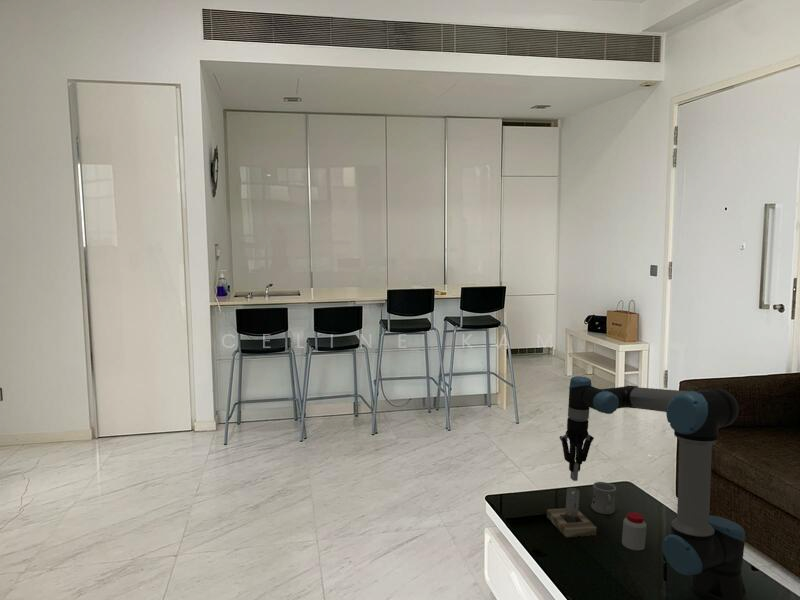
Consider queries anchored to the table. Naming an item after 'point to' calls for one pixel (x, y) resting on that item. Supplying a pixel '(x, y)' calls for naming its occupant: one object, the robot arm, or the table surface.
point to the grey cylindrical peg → (572, 505)
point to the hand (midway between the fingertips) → (573, 479)
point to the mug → (603, 498)
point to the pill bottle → (634, 531)
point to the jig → (571, 524)
